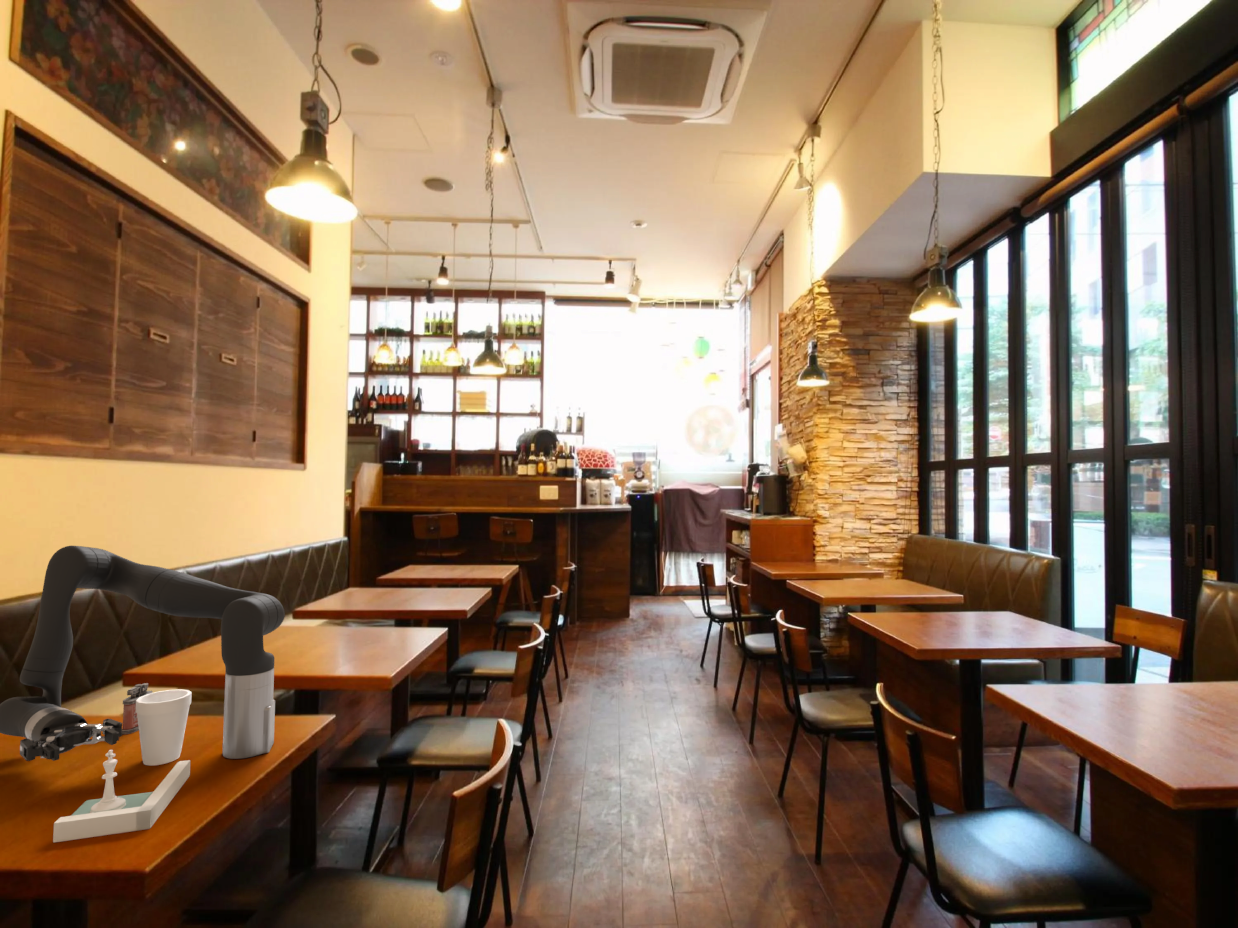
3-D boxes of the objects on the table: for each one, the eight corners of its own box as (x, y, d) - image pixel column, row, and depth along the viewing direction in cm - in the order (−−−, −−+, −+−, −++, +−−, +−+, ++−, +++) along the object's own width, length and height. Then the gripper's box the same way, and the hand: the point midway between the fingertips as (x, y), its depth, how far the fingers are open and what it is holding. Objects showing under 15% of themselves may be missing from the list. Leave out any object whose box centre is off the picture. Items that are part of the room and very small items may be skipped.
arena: (189, 775, 124) (190, 759, 124) (150, 828, 104) (150, 809, 104) (103, 785, 119) (104, 769, 119) (45, 843, 99) (46, 824, 100)
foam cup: (141, 753, 134) (144, 692, 135) (193, 747, 138) (195, 687, 138) (127, 771, 125) (130, 705, 126) (182, 764, 129) (185, 699, 130)
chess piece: (104, 816, 107) (107, 757, 107) (82, 813, 108) (85, 754, 108) (133, 803, 112) (135, 745, 112) (111, 799, 113) (113, 743, 113)
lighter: (140, 721, 153) (142, 680, 154) (155, 721, 153) (156, 679, 154) (117, 734, 145) (119, 690, 146) (132, 733, 145) (134, 690, 146)
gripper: (7, 720, 119) (37, 738, 110) (100, 700, 131) (133, 714, 122) (6, 761, 119) (35, 781, 110) (99, 736, 131) (132, 753, 122)
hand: (86, 746), depth 116 cm, fingers open, 8 cm apart
